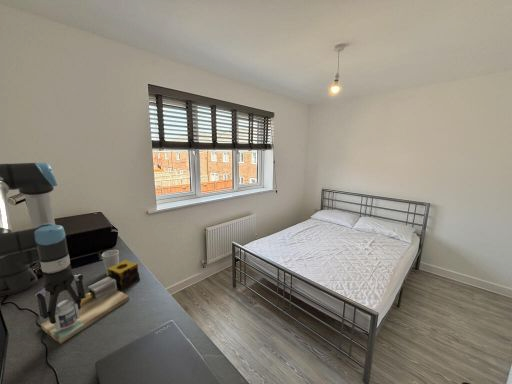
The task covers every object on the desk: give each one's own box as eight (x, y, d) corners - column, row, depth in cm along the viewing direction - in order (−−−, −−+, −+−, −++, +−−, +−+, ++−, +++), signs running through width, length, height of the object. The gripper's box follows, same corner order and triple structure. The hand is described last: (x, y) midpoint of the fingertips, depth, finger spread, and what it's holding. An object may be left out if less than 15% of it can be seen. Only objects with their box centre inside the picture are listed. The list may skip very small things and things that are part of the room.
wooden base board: (41, 328, 83) (37, 311, 82) (110, 290, 106) (108, 276, 105) (61, 344, 77) (57, 326, 75) (130, 299, 100) (128, 285, 98)
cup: (112, 277, 117) (110, 257, 114) (100, 275, 118) (97, 255, 116) (124, 269, 124) (121, 250, 122) (112, 267, 126) (110, 249, 124)
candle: (140, 280, 114) (138, 263, 112) (122, 291, 105) (119, 273, 103) (128, 275, 119) (126, 259, 117) (109, 285, 110) (106, 268, 108)
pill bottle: (55, 326, 79) (51, 306, 78) (71, 316, 84) (67, 297, 82) (64, 331, 77) (59, 310, 76) (80, 320, 82) (76, 300, 80)
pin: (75, 304, 92) (74, 298, 91) (95, 293, 99) (94, 287, 98) (79, 306, 90) (78, 300, 90) (99, 295, 97) (98, 289, 97)
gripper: (26, 285, 66) (40, 346, 71) (91, 258, 83) (99, 310, 87) (16, 278, 70) (30, 337, 74) (80, 254, 86) (89, 304, 90)
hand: (67, 322), depth 81 cm, fingers closed on pill bottle, 5 cm apart
